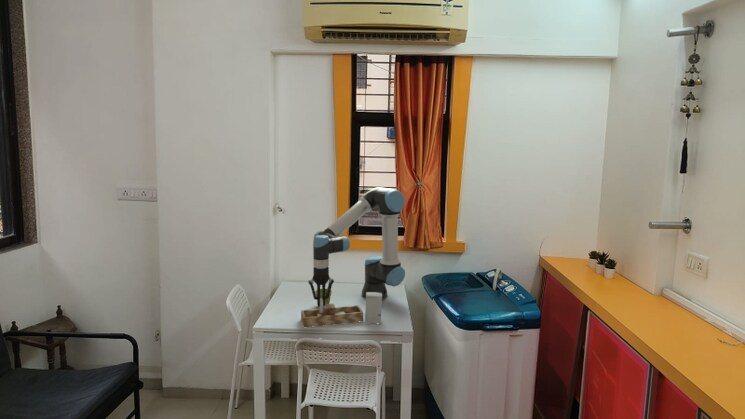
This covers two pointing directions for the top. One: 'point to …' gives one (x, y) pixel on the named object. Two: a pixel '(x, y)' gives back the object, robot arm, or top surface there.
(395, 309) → the top surface
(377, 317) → the skincare box
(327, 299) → the plant pot
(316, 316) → the wooden cubby shelf
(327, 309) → the walnut block
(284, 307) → the top surface
